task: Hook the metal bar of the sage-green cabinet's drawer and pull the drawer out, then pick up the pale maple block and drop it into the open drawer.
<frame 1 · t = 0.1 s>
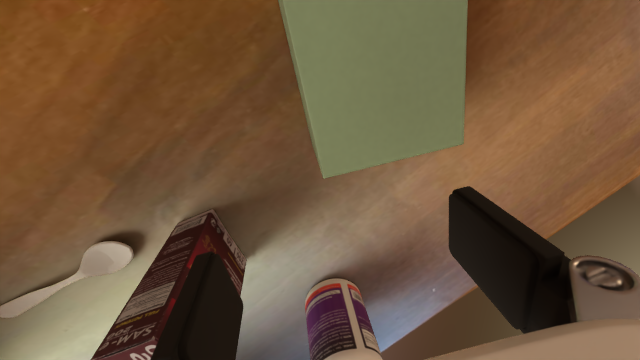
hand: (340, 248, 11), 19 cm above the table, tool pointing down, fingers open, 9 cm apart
pill bottle: (332, 294, 39), on the table
supplement box: (214, 240, 33), on the table
cabinet: (354, 61, 26), on the table
spoon: (67, 277, 32), on the table
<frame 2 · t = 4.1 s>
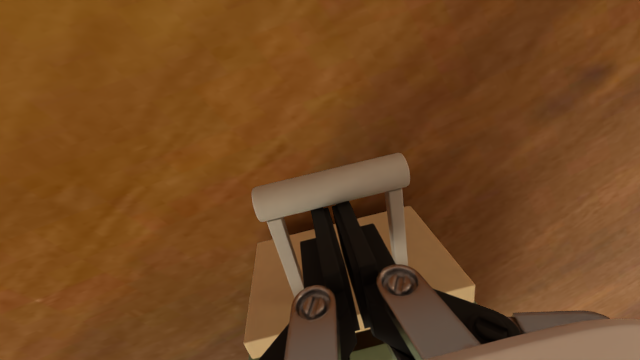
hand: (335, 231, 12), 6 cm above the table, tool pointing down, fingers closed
drawer: (354, 304, 16), point 4 cm above the table, slide at 1.0 cm, touching gripper
cabinet: (352, 307, 23), on the table
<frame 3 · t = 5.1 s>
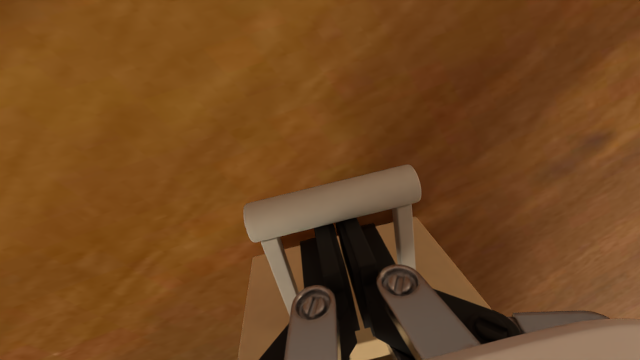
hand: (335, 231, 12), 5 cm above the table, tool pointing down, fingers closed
drawer: (356, 323, 15), point 4 cm above the table, slide at 4.9 cm, touching gripper
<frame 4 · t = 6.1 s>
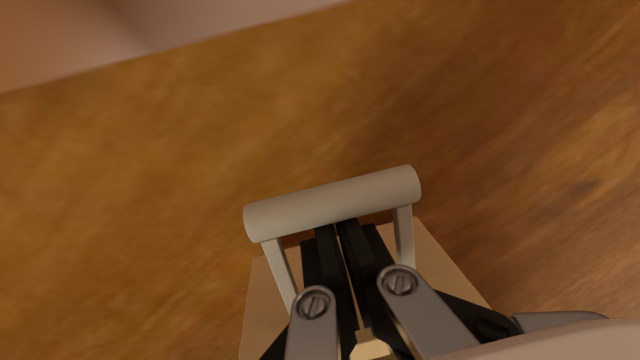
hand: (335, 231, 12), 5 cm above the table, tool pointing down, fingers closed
drawer: (357, 324, 15), point 4 cm above the table, slide at 8.4 cm, touching gripper
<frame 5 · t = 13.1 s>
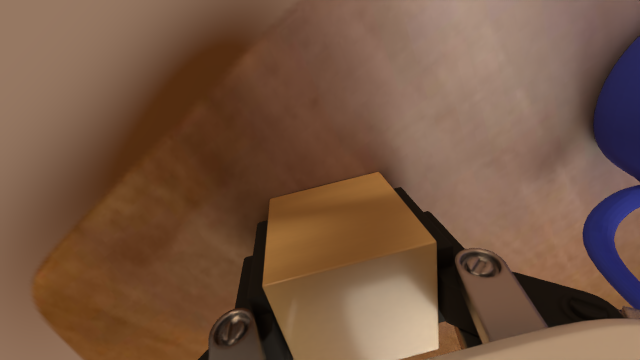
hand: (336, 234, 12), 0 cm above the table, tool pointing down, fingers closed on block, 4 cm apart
block: (334, 229, 12), on the table, touching gripper
mug: (614, 129, 12), on the table
when the fingers open (7 cm above the table, at t = 20.4 s): block drops 4 cm, resting on drawer.
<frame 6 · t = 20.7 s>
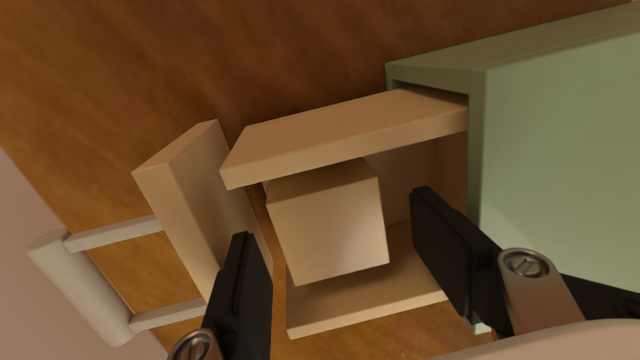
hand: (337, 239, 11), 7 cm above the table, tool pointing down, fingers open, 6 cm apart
drawer: (287, 220, 14), point 4 cm above the table, slide at 9.6 cm, touching block, gripper
cabinet: (501, 130, 18), on the table
block: (320, 189, 16), point 2 cm above the table, touching drawer
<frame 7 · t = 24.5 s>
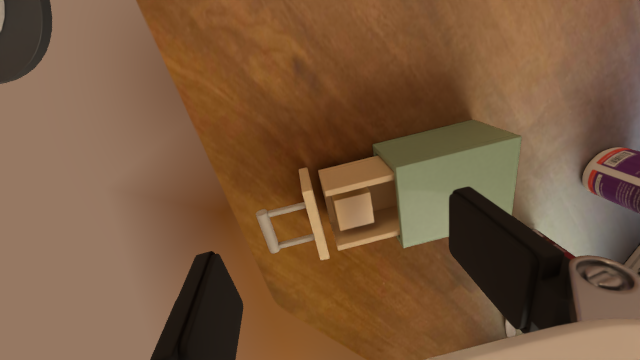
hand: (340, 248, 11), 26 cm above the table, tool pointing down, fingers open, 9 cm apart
pill bottle: (600, 167, 44), on the table
cereal box: (637, 262, 56), on the table
drawer: (336, 207, 36), point 4 cm above the table, slide at 9.5 cm, touching block
cabinet: (424, 168, 40), on the table
spoon: (503, 310, 57), on the table
block: (346, 194, 38), point 2 cm above the table, touching drawer
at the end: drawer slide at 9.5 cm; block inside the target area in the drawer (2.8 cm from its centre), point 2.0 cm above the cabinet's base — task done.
